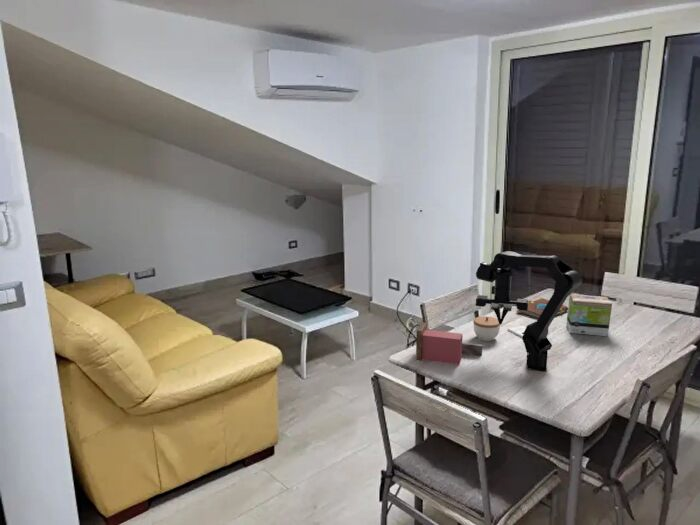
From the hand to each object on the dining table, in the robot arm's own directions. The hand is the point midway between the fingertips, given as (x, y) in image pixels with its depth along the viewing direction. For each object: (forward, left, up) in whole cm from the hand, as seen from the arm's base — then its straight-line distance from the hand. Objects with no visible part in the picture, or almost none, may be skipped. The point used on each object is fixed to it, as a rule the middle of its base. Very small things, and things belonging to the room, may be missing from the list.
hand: (500, 324), depth 197 cm
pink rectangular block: (+20, +12, -12) cm, 26 cm away
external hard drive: (-9, -24, -13) cm, 29 cm away
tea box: (-34, -35, -12) cm, 50 cm away
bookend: (+17, +10, -12) cm, 23 cm away
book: (-17, -57, -13) cm, 61 cm away
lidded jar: (+6, -14, -12) cm, 20 cm away
